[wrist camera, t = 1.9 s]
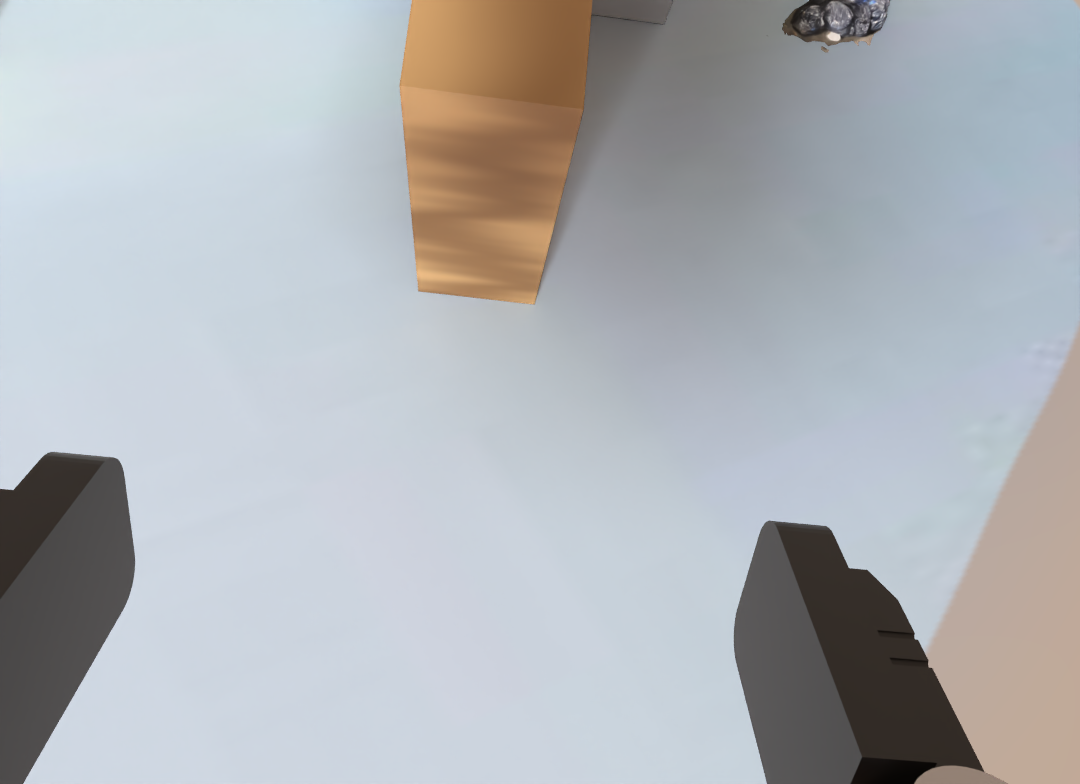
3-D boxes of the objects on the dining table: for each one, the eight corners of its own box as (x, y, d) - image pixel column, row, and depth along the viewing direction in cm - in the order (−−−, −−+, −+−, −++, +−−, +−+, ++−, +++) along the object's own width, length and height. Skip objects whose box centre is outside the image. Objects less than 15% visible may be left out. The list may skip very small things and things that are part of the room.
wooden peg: (418, 291, 31) (399, 85, 19) (431, 186, 32) (421, -68, 20) (534, 304, 31) (583, 109, 20) (543, 199, 32) (595, -43, 21)
